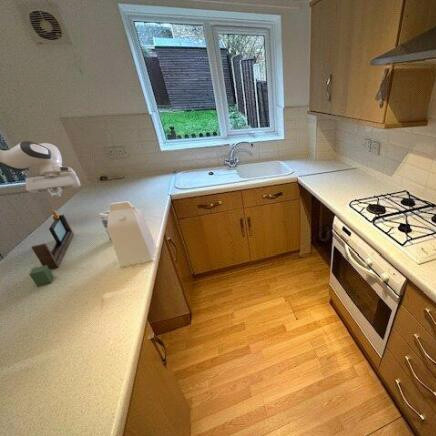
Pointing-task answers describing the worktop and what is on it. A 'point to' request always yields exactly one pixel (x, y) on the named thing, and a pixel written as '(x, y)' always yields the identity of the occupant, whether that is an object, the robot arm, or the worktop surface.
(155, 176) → the worktop surface
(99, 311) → the worktop surface
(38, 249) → the window frame
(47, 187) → the robot arm
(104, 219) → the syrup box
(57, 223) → the window pane
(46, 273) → the block
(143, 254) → the milk
